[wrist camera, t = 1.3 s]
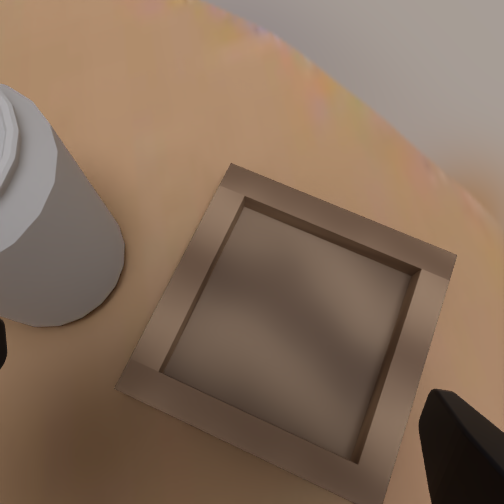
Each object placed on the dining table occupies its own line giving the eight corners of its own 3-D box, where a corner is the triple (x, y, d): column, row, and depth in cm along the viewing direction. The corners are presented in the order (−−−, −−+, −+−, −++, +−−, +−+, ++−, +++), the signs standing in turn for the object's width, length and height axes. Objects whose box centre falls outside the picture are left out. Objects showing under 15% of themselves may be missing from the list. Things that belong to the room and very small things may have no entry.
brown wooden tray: (366, 504, 21) (379, 515, 19) (124, 389, 22) (114, 388, 20) (440, 265, 25) (457, 255, 23) (231, 180, 26) (230, 163, 24)
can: (-12, 212, 25) (-220, 58, 14) (120, 189, 26) (28, 25, 14) (-8, 343, 23) (-253, 288, 11) (137, 314, 23) (43, 235, 12)
